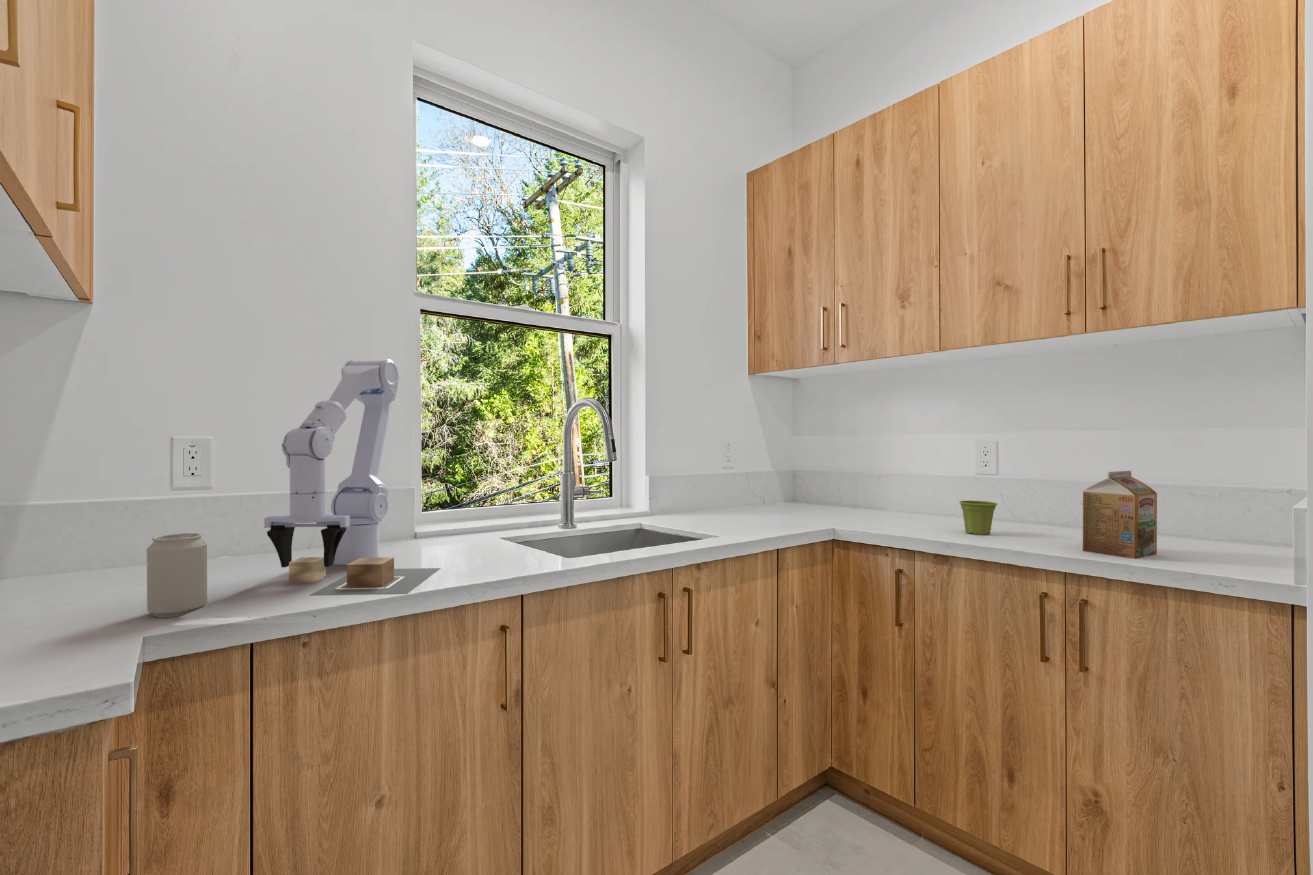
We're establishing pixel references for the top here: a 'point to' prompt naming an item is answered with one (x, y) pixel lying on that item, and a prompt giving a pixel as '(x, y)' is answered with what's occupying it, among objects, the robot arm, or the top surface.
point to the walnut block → (370, 572)
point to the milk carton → (1120, 517)
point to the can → (176, 574)
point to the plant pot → (978, 516)
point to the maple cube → (307, 569)
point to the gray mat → (399, 585)
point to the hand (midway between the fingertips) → (307, 566)
